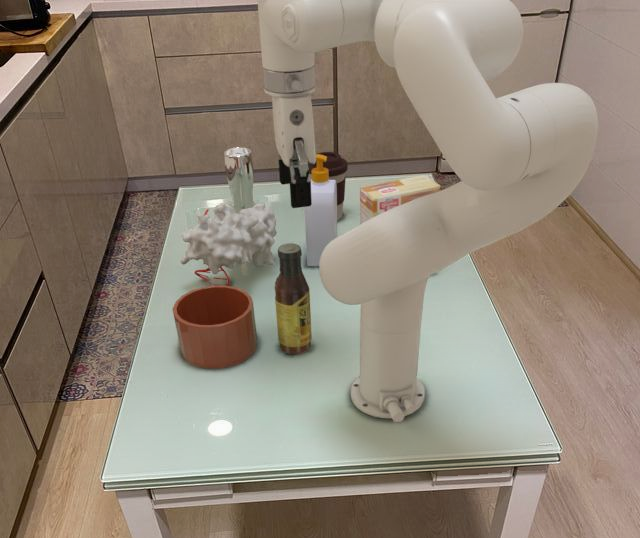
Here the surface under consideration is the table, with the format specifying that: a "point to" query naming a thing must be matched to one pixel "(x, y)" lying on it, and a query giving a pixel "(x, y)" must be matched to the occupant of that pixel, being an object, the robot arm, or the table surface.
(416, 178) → the coffeecake box
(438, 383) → the table surface
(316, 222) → the soap bottle
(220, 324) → the crock
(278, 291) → the sauce bottle
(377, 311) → the robot arm
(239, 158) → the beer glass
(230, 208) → the lumpy white molecule
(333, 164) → the coffee cup
